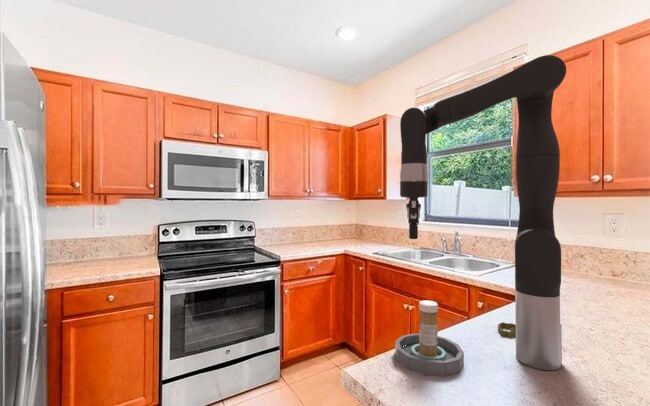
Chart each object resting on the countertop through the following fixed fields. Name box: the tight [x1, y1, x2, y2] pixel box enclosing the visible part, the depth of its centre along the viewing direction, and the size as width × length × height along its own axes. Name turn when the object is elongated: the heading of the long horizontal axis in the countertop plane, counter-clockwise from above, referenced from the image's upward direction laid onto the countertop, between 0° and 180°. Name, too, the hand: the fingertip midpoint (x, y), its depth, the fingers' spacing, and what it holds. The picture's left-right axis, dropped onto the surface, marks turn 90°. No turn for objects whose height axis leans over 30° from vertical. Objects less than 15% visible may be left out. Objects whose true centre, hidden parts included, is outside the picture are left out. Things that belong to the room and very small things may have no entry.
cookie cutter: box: [497, 321, 516, 338], centre depth 95 cm, size 18×12×2 cm, turn 123°
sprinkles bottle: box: [418, 300, 439, 357], centre depth 78 cm, size 5×5×14 cm
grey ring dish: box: [394, 333, 465, 377], centre depth 78 cm, size 16×16×3 cm
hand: (413, 237), depth 88 cm, fingers open, 8 cm apart
